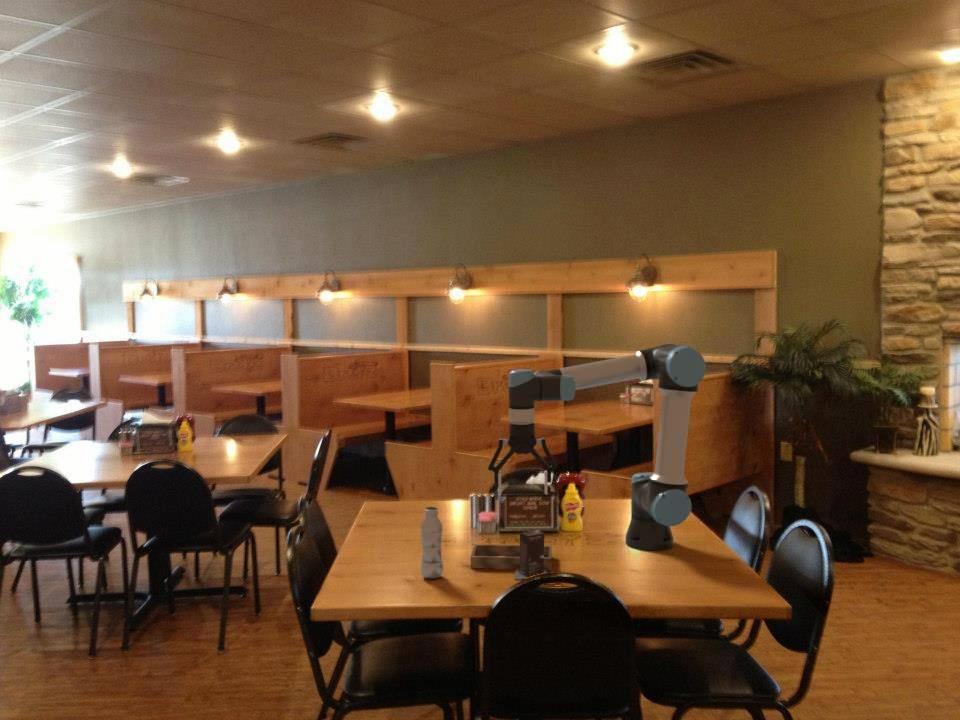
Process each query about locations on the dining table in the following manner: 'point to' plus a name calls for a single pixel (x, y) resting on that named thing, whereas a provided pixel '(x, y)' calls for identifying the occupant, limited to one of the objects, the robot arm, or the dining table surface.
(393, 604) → the dining table surface
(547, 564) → the brown shallow rectangular container
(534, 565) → the box
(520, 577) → the tile
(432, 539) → the plastic bottle
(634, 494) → the robot arm
